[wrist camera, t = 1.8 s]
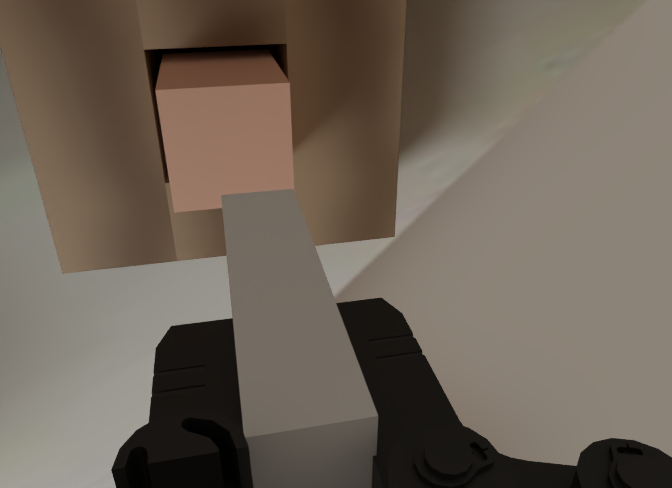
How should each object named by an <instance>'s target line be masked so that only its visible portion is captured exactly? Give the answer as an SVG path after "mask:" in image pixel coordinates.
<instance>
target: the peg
mask: <svg viewBox="0 0 672 488" xmlns="http://www.w3.org/2000/svg"><path fill="white" fill-rule="evenodd" d="M155 91H156V98H157V104H158V111H159V117H160V124H161V130H162V137H163V143H164V150H165V156H166V163H167V169H168V176H169V182H170V189H171V195H172V202H173V208H174V213H176V212H186V211H197V210H207V209H218V208H222V200H221V195H227V194H239V193H250V192H262V191H273V190H284V189H294V171H293V147H292V123H291V99H290V82H289V81H288V79H287V78H286V76H285V75H284V73H283V72H282V70H281V69H280V67H279V65H278V64H277V62H276V61H275V59H274V58H273V56H272V55H271V53H270V52H269V50H268V49H259V50H236V51H214V52H191V53H168V54H163V56H162V61H161V66H160V70H159V75H158V80H157V85H156V89H155Z"/></svg>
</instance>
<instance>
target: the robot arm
mask: <svg viewBox="0 0 672 488" xmlns="http://www.w3.org/2000/svg"><path fill="white" fill-rule="evenodd" d="M221 200H222V211H223V221H224V232H225V242H226V253H227V264H228V274H229V285H230V295H231V306H232V316H233V318H232V319H224V320H216V321H208V322H200V323H192V324H184V325H176V326H171V327H170V329H169V330H168V331H167V333H166V334H165V336H164V337H163V339H162V340H161V341H160V343H159V344H158V346H157V347H156V353H155V364H154V377H153V385H152V397H151V406H150V416H149V423H148V424H146V425H144V426H143V427H141V428H140V429H138V430H136V431H135V432H134V434H133V435H132V436H131V437H130V438H129V439H128V440H127V441H126V442H125V443H124V445H123V446H122V447H121V448H120V449H119V452H118V454H117V457H116V459H115V462H114V465H113V467H112V474H113V477H114V481H115V485H116V488H672V457H670V456H668V455H667V454H665V453H664V452H662V451H661V450H659V449H657V448H654V447H651V446H648V445H646V444H642V443H640V442H637V441H634V440H625V439H616V438H611V439H606V440H601V441H597V442H593V443H592V444H591V445H589V446H588V447H587V448H586V449H585V450H583V451H582V452H581V454H580V457H579V460H578V464H577V466H571V465H561V464H551V463H543V462H533V461H526V460H521V459H515V458H511V457H508V456H505V455H503V454H500V453H498V452H497V450H496V449H495V448H494V447H493V446H492V445H491V443H490V442H489V441H488V440H487V439H486V438H484V437H483V436H481V435H479V434H478V433H476V432H475V431H473V430H471V429H470V428H467V427H464V426H463V425H462V423H461V422H460V421H459V419H458V417H457V415H456V413H455V411H454V409H453V407H452V406H451V404H450V402H449V400H448V398H447V396H446V394H445V393H444V391H443V389H442V387H441V385H440V383H439V381H438V379H437V378H436V376H435V374H434V372H433V370H432V368H431V367H430V365H429V363H428V361H427V359H426V357H425V356H424V355H423V354H422V350H421V348H420V346H419V344H418V342H417V340H416V339H415V338H414V337H413V333H412V331H411V329H410V327H409V325H408V323H407V322H406V320H405V318H404V316H403V314H402V313H401V312H399V311H398V310H397V309H396V308H394V307H393V306H392V305H390V304H389V303H388V302H386V301H385V300H384V299H382V298H375V299H367V300H359V301H351V302H343V303H336V302H335V299H334V296H333V294H332V291H331V288H330V286H329V283H328V280H327V278H326V275H325V272H324V270H323V267H322V264H321V262H320V259H319V256H318V254H317V251H316V248H315V246H314V243H313V240H312V238H311V235H310V232H309V229H308V227H307V224H306V221H305V219H304V216H303V213H302V211H301V208H300V205H299V203H298V200H297V197H296V195H295V192H294V189H284V190H273V191H262V192H250V193H239V194H227V195H221Z"/></svg>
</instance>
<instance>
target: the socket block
mask: <svg viewBox="0 0 672 488" xmlns="http://www.w3.org/2000/svg"><path fill="white" fill-rule="evenodd" d="M406 3H407V0H0V46H1V50H2V54H3V57H4V61H5V65H6V68H7V72H8V76H9V79H10V83H11V87H12V90H13V94H14V98H15V101H16V105H17V109H18V112H19V116H20V120H21V123H22V127H23V131H24V134H25V138H26V142H27V145H28V149H29V152H30V156H31V160H32V163H33V167H34V171H35V174H36V178H37V182H38V185H39V189H40V193H41V196H42V200H43V204H44V207H45V211H46V215H47V218H48V222H49V226H50V229H51V233H52V237H53V240H54V244H55V248H56V251H57V255H58V259H59V262H60V266H61V270H62V273H72V272H81V271H90V270H99V269H108V268H117V267H127V266H136V265H145V264H154V263H163V262H172V261H181V260H190V259H199V258H208V257H217V256H226V255H227V253H226V242H225V232H224V221H223V211H222V208H218V209H207V210H197V211H186V212H176V213H174V208H173V202H172V195H171V189H170V182H169V176H168V169H167V163H166V156H165V150H164V143H163V137H162V130H161V124H160V117H159V111H158V104H157V98H156V91H155V89H156V85H157V80H158V75H159V70H160V68H159V61H158V55H157V49H169V48H193V47H217V46H240V45H264V44H269V52H270V53H271V55H272V56H273V58H274V59H275V61H276V62H277V64H278V65H279V67H280V69H281V70H282V72H283V73H284V75H285V76H286V78H287V79H288V81H289V82H290V99H291V123H292V147H293V171H294V192H295V195H296V197H297V200H298V203H299V205H300V208H301V211H302V213H303V216H304V219H305V221H306V224H307V227H308V229H309V232H310V235H311V238H312V240H313V243H314V246H316V245H325V244H334V243H343V242H352V241H361V240H370V239H379V238H388V237H395V218H396V198H397V179H398V159H399V140H400V120H401V101H402V81H403V62H404V42H405V23H406Z"/></svg>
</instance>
